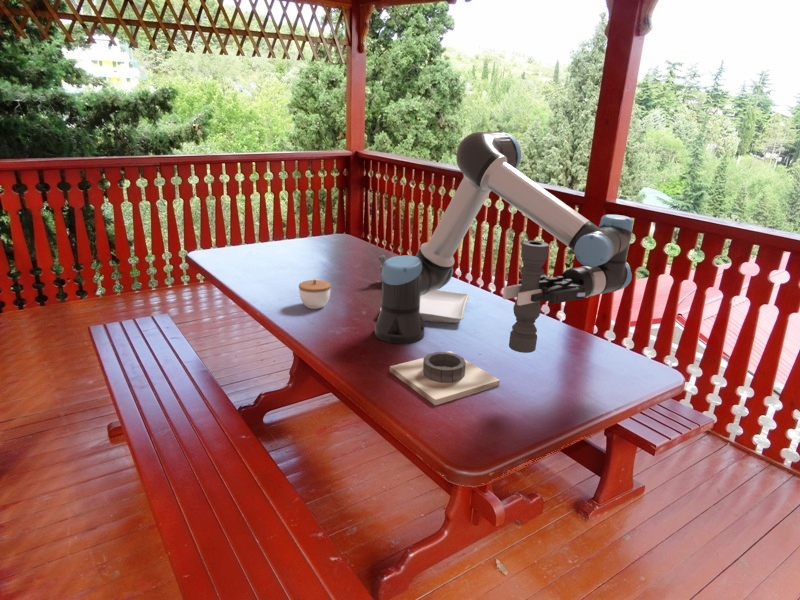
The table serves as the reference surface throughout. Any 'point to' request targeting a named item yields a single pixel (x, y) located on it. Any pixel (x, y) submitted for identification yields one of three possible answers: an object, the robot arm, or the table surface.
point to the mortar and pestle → (382, 261)
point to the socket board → (443, 388)
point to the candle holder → (526, 315)
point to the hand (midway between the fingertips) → (511, 296)
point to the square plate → (443, 306)
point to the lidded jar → (314, 293)
